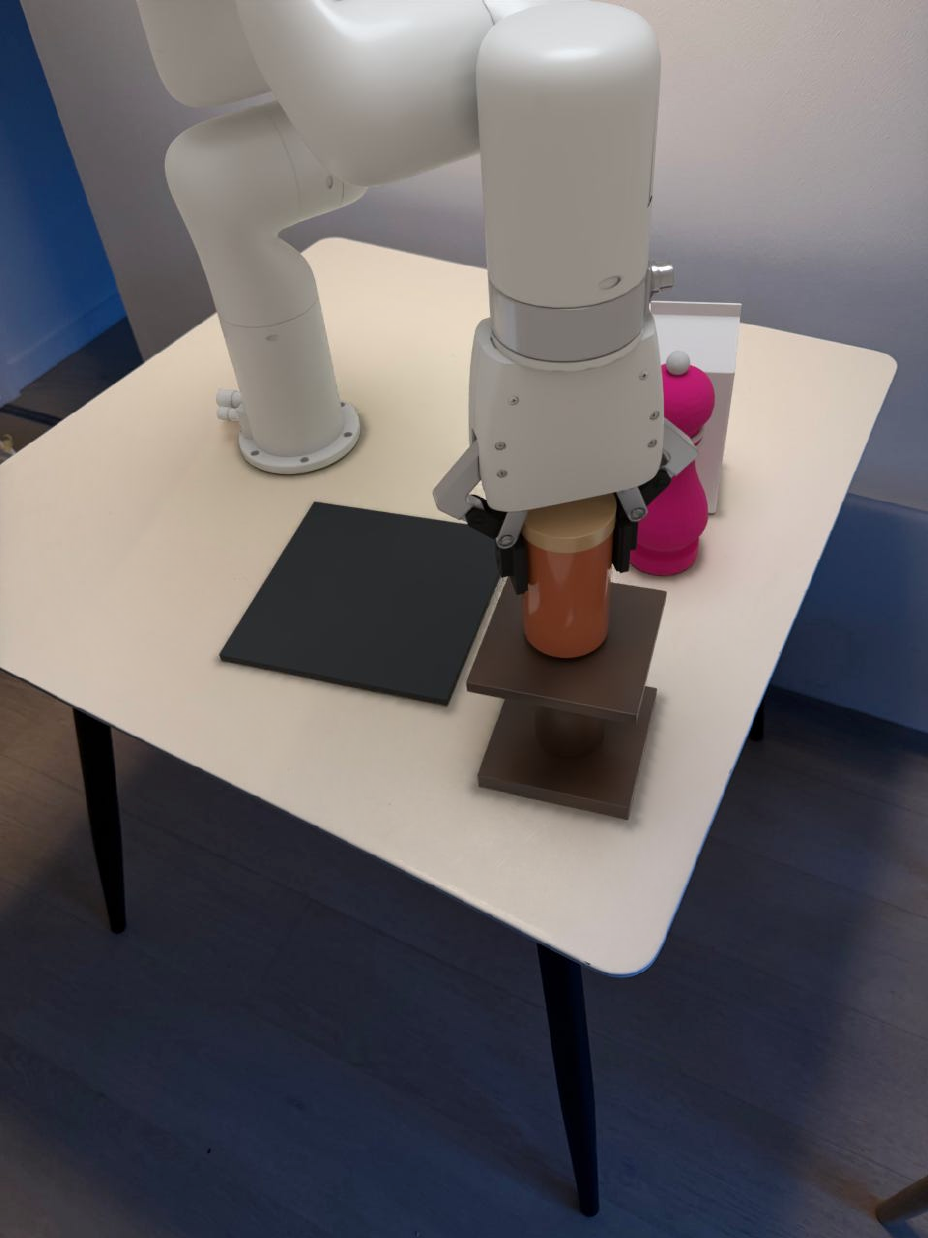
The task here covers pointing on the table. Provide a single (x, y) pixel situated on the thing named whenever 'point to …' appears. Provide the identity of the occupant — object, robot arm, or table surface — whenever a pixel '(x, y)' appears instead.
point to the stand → (570, 706)
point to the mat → (371, 603)
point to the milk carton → (704, 369)
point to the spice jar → (569, 575)
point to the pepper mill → (678, 477)
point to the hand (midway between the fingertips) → (565, 566)
